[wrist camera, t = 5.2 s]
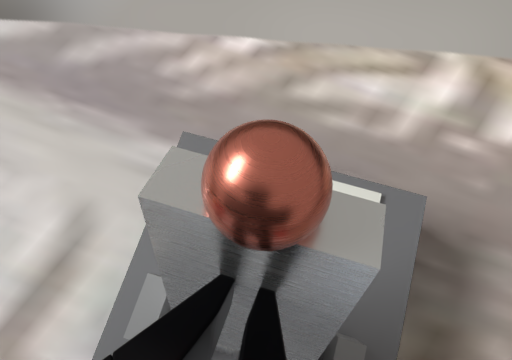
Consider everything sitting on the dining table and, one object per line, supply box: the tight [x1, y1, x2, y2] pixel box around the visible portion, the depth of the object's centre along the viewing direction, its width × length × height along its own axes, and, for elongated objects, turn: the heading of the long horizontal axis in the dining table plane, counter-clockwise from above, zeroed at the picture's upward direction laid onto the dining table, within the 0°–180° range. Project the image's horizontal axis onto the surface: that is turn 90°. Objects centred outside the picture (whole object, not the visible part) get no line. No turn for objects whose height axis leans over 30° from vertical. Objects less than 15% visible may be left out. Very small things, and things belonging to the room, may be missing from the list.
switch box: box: [92, 131, 427, 360], centre depth 16 cm, size 16×12×6 cm
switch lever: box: [138, 120, 386, 360], centre depth 11 cm, size 3×6×11 cm, turn 73°
